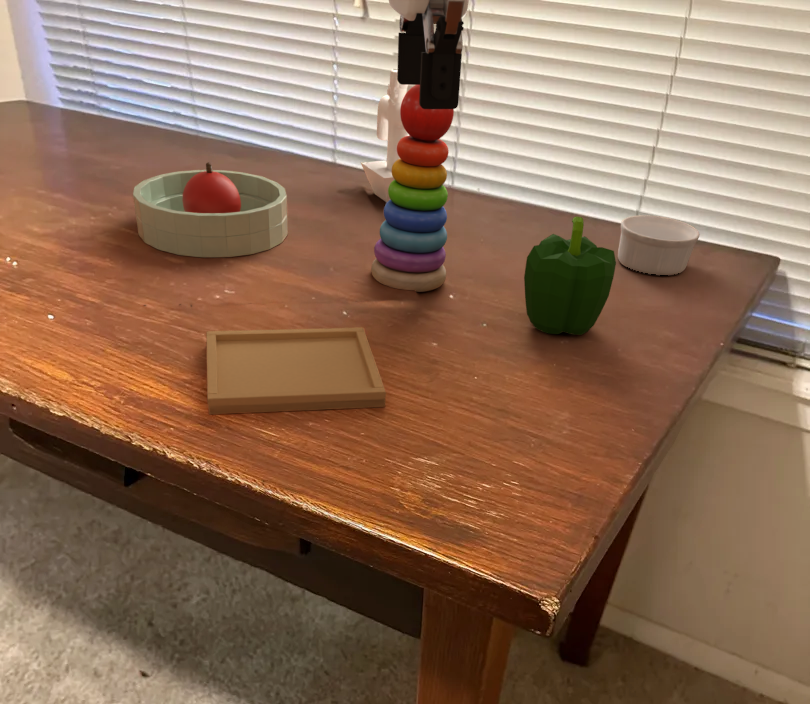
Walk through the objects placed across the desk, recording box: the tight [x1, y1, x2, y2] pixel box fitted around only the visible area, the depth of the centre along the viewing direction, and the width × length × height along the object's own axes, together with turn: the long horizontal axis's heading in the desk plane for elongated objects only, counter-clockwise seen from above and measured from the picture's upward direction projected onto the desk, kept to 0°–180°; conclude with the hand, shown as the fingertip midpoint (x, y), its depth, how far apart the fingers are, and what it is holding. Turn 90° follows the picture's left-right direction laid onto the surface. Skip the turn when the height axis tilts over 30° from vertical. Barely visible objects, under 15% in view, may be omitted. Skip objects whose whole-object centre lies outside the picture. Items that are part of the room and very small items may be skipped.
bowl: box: [132, 169, 289, 258], centre depth 92 cm, size 17×17×5 cm
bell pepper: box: [523, 216, 617, 336], centre depth 77 cm, size 8×8×10 cm
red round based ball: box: [182, 161, 241, 213], centre depth 91 cm, size 6×6×7 cm
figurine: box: [360, 68, 415, 203], centre depth 105 cm, size 7×9×15 cm
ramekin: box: [617, 214, 701, 276], centre depth 94 cm, size 9×9×4 cm
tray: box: [205, 327, 387, 415], centre depth 69 cm, size 14×12×1 cm
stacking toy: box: [370, 85, 455, 293], centre depth 81 cm, size 8×8×19 cm
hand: (425, 95), depth 71 cm, fingers open, 9 cm apart
